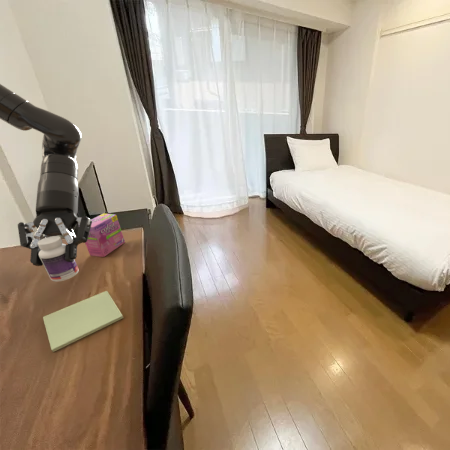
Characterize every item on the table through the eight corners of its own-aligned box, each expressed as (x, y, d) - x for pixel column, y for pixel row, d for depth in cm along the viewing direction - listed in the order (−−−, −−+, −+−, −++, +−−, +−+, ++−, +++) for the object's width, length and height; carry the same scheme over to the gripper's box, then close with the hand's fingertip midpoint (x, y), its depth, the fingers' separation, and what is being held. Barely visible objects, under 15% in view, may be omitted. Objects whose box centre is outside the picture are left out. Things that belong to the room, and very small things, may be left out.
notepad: (52, 352, 60) (51, 350, 59) (43, 319, 68) (42, 316, 68) (123, 318, 69) (122, 315, 68) (107, 292, 77) (106, 290, 77)
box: (104, 257, 94) (92, 227, 88) (89, 256, 94) (77, 225, 89) (126, 242, 103) (116, 214, 98) (112, 241, 104) (102, 213, 98)
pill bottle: (83, 272, 66) (68, 237, 62) (57, 285, 62) (39, 248, 57) (73, 266, 68) (57, 232, 64) (46, 277, 64) (28, 242, 60)
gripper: (10, 191, 61) (1, 265, 56) (84, 186, 65) (81, 254, 60) (33, 204, 68) (27, 271, 63) (99, 199, 71) (98, 261, 67)
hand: (53, 263), depth 61 cm, fingers closed on pill bottle, 5 cm apart
